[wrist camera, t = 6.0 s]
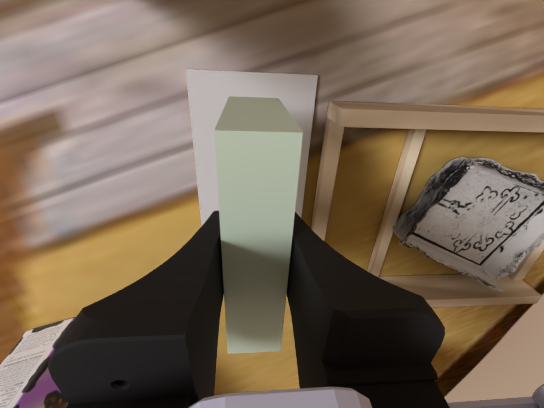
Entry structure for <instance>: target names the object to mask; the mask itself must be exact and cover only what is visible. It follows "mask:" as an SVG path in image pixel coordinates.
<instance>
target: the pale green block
mask: <svg viewBox="0 0 544 408" xmlns="http://www.w3.org/2000/svg"><path fill="white" fill-rule="evenodd" d="M214 136H215V152H216V169H217V185H218V202H219V218H220V235H221V251H222V267H223V284H224V300H225V317H226V333H227V350H228V354H232V353H251V352H271V351H281V342H282V332H283V323H284V313H285V303H286V293H287V284H288V274H289V264H290V254H291V245H292V235H293V225H294V215H295V206H296V196H297V186H298V176H299V167H300V157H301V147H302V137H303V132H302V131H301V129H300V128H299V126H298V125H297V123H296V122H295V121H294V119H293V118H292V116H291V115H290V113H289V112H288V111H287V109H286V108H285V106H284V105H283V103H282V102H281V101H280V99H279V98H261V97H234V96H229V97H228V100H227V102H226V104H225V107H224V109H223V111H222V114H221V116H220V118H219V120H218V123H217V125H216V127H215V130H214Z"/></svg>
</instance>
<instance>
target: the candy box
mask: <svg viewBox="0 0 544 408" xmlns="http://www.w3.org/2000/svg"><path fill="white" fill-rule="evenodd" d="M74 320H75V318H71V319H67V320H64V321H60V322H56V323H53V324H50V325H46V326H41V327H38V328H35V329H31V330H28V331H26V332H25V334H24V335H23V337H22V338H21V340H20V341H19V342H18V344H17V345H16V346H15V348H14V349H13V350H12V351H11V352H10V354H9V355H8V356H7V358H6V359H5V360H4V361H3V362H2V364H1V365H0V408H66V407H67V405H68V402H67V401H66V399H65V398H64V396H63V395H62V393H61V392H60V390H59V389H58V387H57V386H56V384H55V382H54V381H53V379H52V377H51V375H50V373H49V370H48V360H49V358H50V356H51V355H52V353H53V352H54V350H55V349H56V347H57V345H58V344H59V342H60V341H61V339H62V338H63V336H64V335H65V333H66V331H67V330H68V328H69V327H70V325H71V324H72V322H73V321H74Z"/></svg>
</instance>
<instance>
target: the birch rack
mask: <svg viewBox="0 0 544 408" xmlns="http://www.w3.org/2000/svg"><path fill="white" fill-rule="evenodd" d="M344 127H362V128H399V129H409V130H408V133H407V137H406V140H405V143H404V147H403V150H402V154H401V157H400V160H399V164H398V167H397V171H396V174H395V177H394V181H393V184H392V188H391V191H390V194H389V198H388V201H387V205H386V208H385V211H384V215H383V218H382V222H381V225H380V228H379V232H378V235H377V239H376V242H375V245H374V249H373V252H372V256H371V259H370V262H369V266H368V269H367V271H368V272H369V273H371V274H373V275H375V276H377V277H379V278H381V279H383V280H385V281H387V282H389V283H391V284H394V285H396V286H398V287H401V288H403V289H406V290H408V291H411V292H413V293H416V294H418V295H421V296H423V298H424V299H425V300H426V301H427V303H428V304H429V305H430V307H453V306H479V305H506V304H533V303H537V302H538V300H539V299H540V298H541V295H540V294H539V293H538V292H536V291H535V290H534V289H533V288H531V287H530V286H529V285H528V284H527V283H525V282H524V281H523V279H524V277H525V276H526V274H527V273H528V272H529V270H530V269H531V267H532V266H533V264H534V263H535V261H536V260H537V259H538V257H539V256H540V254H541V253H542V251H543V250H544V242H543V243H542V244H541V245H540V247H538V248H537V249H535V250H533V251H531V252H528V253H526V254H525V257H524V259H523V260H522V261H521V262H520V263H519V265H518V268H517V269H516V271H515V272H514V273H510V274H508V275H506V276H505V278H503V279H501V278H500V279H498V280H497V284H498V285H499V286H501V287H502V288H503V290H502V291H503V292H501V291H499V290H495V289H494V290H493V289H491V288H489V287H488V286H485V285H483V284H481V283H480V282H479V281H477V280H475V279H474V278H473V277H471V276H469V275H468V274H467V276H465V275H463V274H455V275H416V276H379V274H380V271H381V268H382V265H383V261H384V258H385V255H386V252H387V249H388V246H389V243H390V240H391V237H392V234H393V228H392V227H393V226H395V225H396V222H397V219H398V216H399V213H400V210H401V206H402V203H403V200H404V197H405V194H406V191H407V188H408V185H409V182H410V179H411V176H412V173H413V170H414V167H415V164H416V161H417V158H418V155H419V151H420V148H421V145H422V142H423V139H424V136H425V133H426V130H427V129H436V130H472V131H509V132H544V109H542V108H515V107H487V106H460V105H432V104H405V103H377V102H350V101H329V103H328V110H327V117H326V124H325V131H324V138H323V145H322V152H321V159H320V166H319V174H318V181H317V188H316V195H315V202H314V209H313V216H312V223H311V229H312V230H313V231H314V232H315V233H316V234H317V235H318V236H319V237H320V238H321V239H322V240H323V241H324V240H325V234H326V228H327V223H328V217H329V211H330V206H331V200H332V194H333V188H334V183H335V177H336V171H337V166H338V160H339V154H340V149H341V143H342V137H343V132H344Z"/></svg>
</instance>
